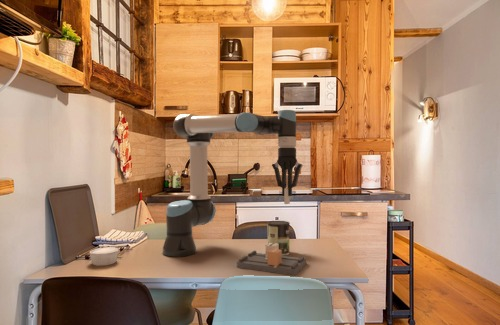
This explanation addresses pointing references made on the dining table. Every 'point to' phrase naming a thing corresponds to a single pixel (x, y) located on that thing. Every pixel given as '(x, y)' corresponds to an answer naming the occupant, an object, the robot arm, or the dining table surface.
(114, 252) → the ramekin
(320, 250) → the dining table surface
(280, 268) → the console
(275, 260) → the terracotta fader knob
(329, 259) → the dining table surface
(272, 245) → the off-white fader knob
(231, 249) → the dining table surface
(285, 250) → the coffee can
